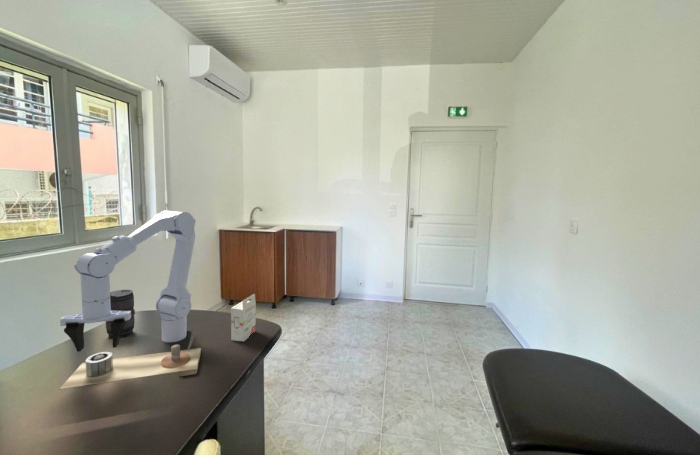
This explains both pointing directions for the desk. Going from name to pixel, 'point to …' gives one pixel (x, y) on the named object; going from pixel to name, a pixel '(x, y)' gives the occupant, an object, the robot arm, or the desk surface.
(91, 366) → the collar
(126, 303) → the camera lens
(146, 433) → the desk surface
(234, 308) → the ink cartridge box
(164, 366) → the stand board
